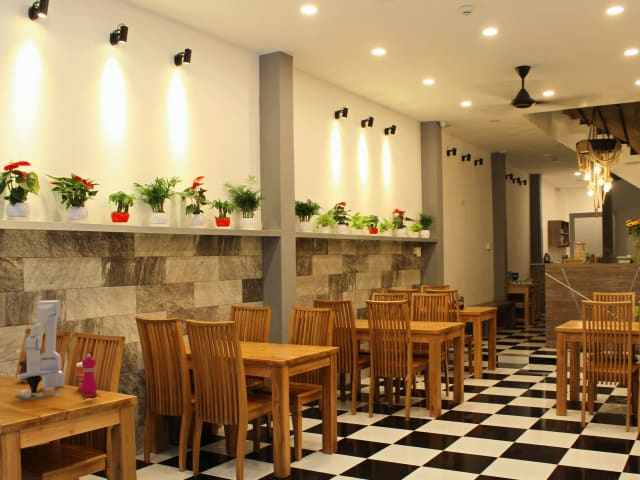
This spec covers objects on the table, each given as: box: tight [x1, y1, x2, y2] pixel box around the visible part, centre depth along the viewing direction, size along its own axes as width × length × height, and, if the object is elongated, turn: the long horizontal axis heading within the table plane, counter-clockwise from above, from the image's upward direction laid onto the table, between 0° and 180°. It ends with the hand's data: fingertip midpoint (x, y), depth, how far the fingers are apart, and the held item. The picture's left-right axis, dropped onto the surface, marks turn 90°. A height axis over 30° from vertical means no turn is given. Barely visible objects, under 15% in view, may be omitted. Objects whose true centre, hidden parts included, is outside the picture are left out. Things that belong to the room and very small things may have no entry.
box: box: [15, 393, 46, 401], centre depth 316 cm, size 7×14×2 cm, turn 47°
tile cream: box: [19, 389, 32, 397], centre depth 317 cm, size 4×4×3 cm
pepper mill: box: [80, 353, 99, 400], centre depth 319 cm, size 7×7×20 cm
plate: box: [31, 391, 64, 398], centre depth 322 cm, size 10×14×2 cm
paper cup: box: [76, 361, 84, 391], centre depth 334 cm, size 8×8×14 cm
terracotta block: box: [42, 388, 56, 397], centre depth 319 cm, size 4×4×3 cm
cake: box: [18, 358, 35, 383], centre depth 369 cm, size 11×9×18 cm
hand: (33, 392), depth 320 cm, fingers closed
